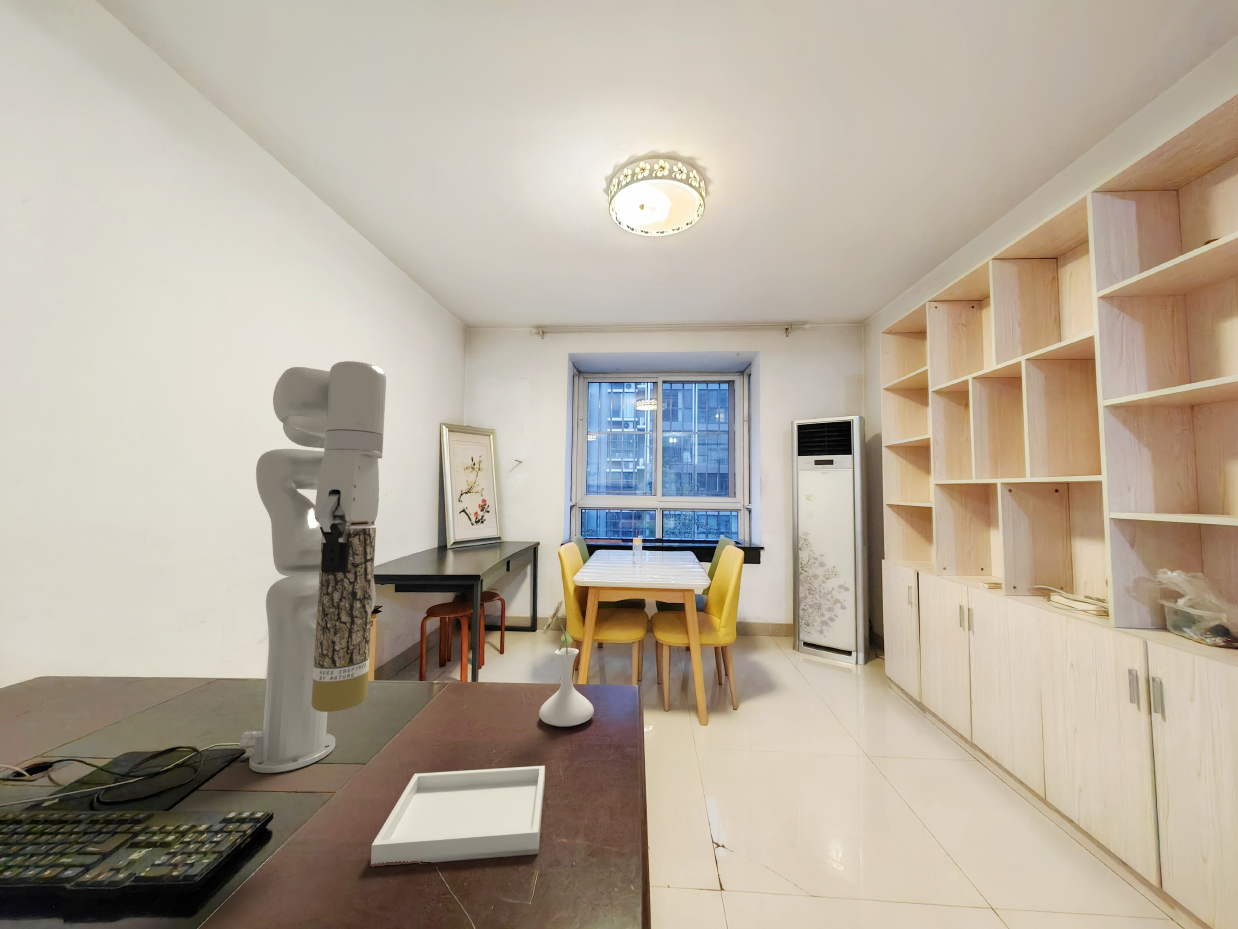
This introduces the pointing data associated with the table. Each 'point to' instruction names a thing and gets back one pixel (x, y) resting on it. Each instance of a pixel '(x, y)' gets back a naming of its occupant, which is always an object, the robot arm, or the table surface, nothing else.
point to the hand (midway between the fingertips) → (347, 568)
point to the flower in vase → (565, 686)
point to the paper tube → (345, 626)
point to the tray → (464, 816)
